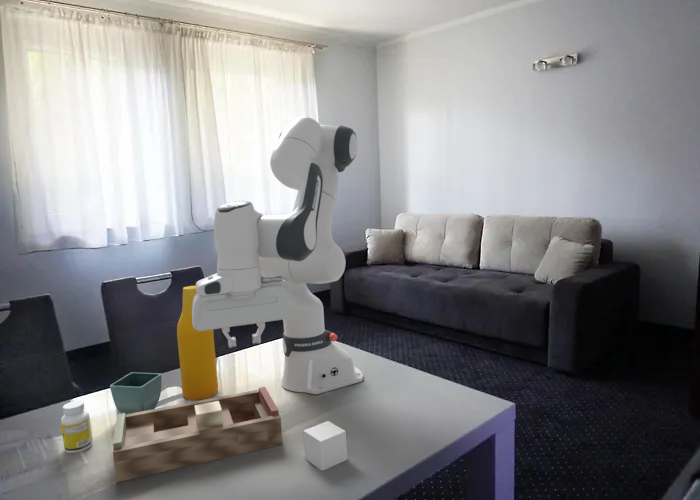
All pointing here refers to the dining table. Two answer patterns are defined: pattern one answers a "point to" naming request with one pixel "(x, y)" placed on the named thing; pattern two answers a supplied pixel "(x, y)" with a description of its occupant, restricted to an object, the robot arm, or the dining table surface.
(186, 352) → the beer bottle
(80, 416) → the supplement bottle
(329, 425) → the white cube
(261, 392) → the tray
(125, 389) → the flower pot
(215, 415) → the ash block
